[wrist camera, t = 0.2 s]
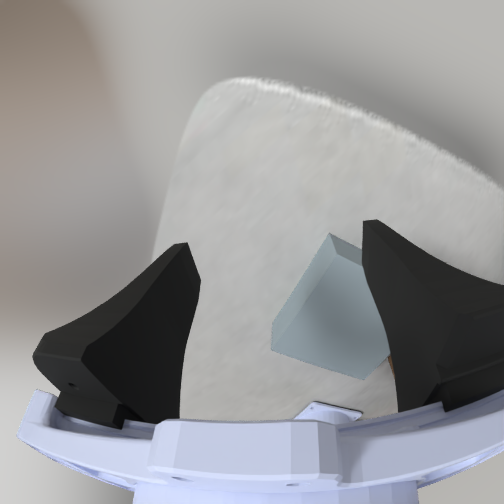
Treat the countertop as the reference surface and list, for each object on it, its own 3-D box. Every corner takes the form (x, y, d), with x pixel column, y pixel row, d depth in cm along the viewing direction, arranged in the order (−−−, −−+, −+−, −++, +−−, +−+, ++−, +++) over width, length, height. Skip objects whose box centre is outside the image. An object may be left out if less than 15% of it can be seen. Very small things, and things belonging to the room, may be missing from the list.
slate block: (357, 351, 28) (363, 380, 24) (272, 320, 27) (270, 350, 23) (416, 278, 24) (433, 303, 20) (328, 231, 22) (336, 253, 19)
